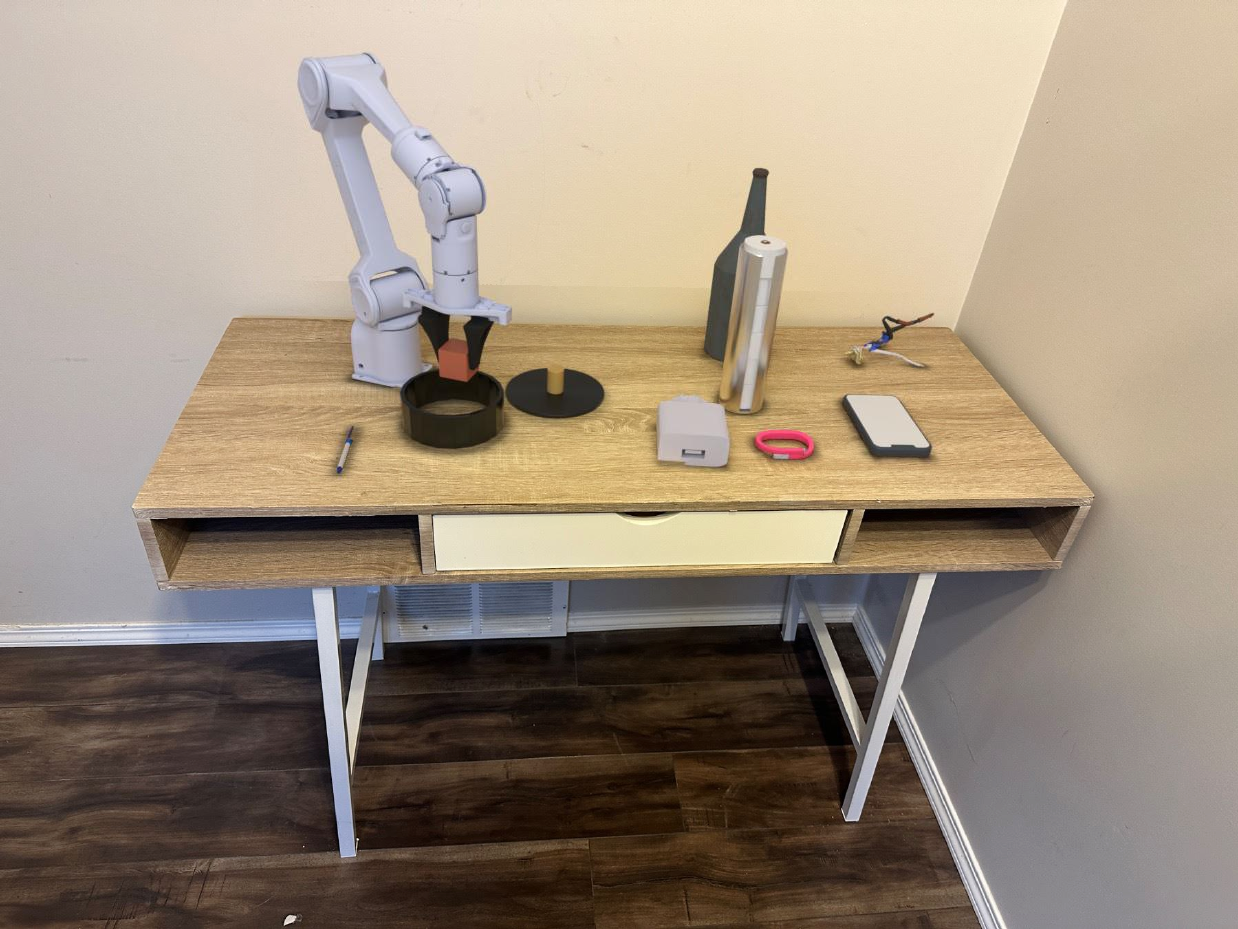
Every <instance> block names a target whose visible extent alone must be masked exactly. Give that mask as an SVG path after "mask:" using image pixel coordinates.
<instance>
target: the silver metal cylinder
mask: <svg viewBox="0 0 1238 929" xmlns="http://www.w3.org/2000/svg"><path fill="white" fill-rule="evenodd" d="M788 256H789V249H788V248H787V242H786V241H784V240H782V239H781V238H778V237H775V236H771V235H766V236H763V235H757V236H750V237H748V238H746V239H745V241H744V242H743V243H742V244H741V245H740V248H739V256H738V263H737V270H736V277H735V285H734V292H733V299H732V306H731V313H730V321H729V328H728V335H727V342H726V350H725V357H724V362H723V363H722V364H723V365H722V372H721V379H720V387H719V393H718V404H720V405H722V406H723V407H724V409H725V411H728V412H730V413H733V414H737V415H751V414H755V413H757V412H759V411H761V409H762V407H763V403H764V396H765V391H766V386H767V379H768V374H769V369H770V362H771V355H772V350H773V345H774V344H773V343H774V339H775V333H776V327H777V320H778V315H779V309H780V303H781V297H782V291H783V285H784V279H785V272H786V268H787V263H788V262H787V261H788Z"/></svg>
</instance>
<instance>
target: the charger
mask: <svg viewBox="0 0 1238 929" xmlns="http://www.w3.org/2000/svg"><path fill="white" fill-rule="evenodd" d="M726 415H727V414H726V409H724V407H723V406H722V405H720V404H719V403H716V402H708V400H706V399H705V398H702V397H701V396H699V395H696V393H692V394H691V395H688V394H687V395H686V394H684V393H683V392H682V393H680V394H679V395H677V396H675V397H672V398H670V399H669V400H663V401H661V402H659V403H658V405H657V412H656V422H655V426H656V427H655V428H656V429H655V430H656V445H657V446H656V450H657V451H656V452H657V453H656V454H657V460H658V461H667V462H680V463H681V462H684V464H683V465H684V466H694V467H695V466H697V467H714V468H717V467H718V468H719V467H722V466H723V467H724V466H726V465H727V464H728V460H729V453H730V446H731V438H730V433H729V427H728V421H727V416H726Z"/></svg>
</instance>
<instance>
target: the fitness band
mask: <svg viewBox="0 0 1238 929" xmlns="http://www.w3.org/2000/svg"><path fill="white" fill-rule="evenodd" d="M755 436H756V437H755V440H754V445H755V447H756V448H757V449H759V450H761V451H763V452H765V453H770V454H772V459H773V460H799V459H800V460H801V459H806V458H808V457H810V456H812V455H813V453H814V450H815V443H814V440H813V438H812V437H811V436H810V435H809V434H807V433H806V432H804V431H800V430H795V429H769V430H763V431H760V432H758V433H757V434H756V435H755ZM767 440H795V441H799V442H802V443H803V444H805V445H806V446H807V448H805V447H775V446H771V445H769V444H766V443H764V442H763V441H767Z"/></svg>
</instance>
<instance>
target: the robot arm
mask: <svg viewBox="0 0 1238 929" xmlns="http://www.w3.org/2000/svg"><path fill="white" fill-rule="evenodd" d="M297 71H298V72H297V88H298V93H299V96H300V99H301V103H302V105H303V108H304V112H305V114H306V118H307V119H308V121H309V122H308V123H309V124H310V128H311V129H312V130H314V131H316V132H318V133H320V135H321V138H322V141H323V145H324V146H325V151H326V153H327V156H328V160H329V162H330V166H331V169H332V172H333V175H334V178H335V182H336V184H337V188H338V190H339V194H340V197H341V199H342V203H343V206H344V209H345V212H346V216H347V218H348V222H349V225H350V227H351V229H352V234H353V236H354V239H355V243H356V246H357V249H358V252H359V256H360V258H359V259H358V261H357V262H356V264H355V265H354V266H353V268H352V269H351V271H350V272H349V274H348V276H347V279H348V283H349V288H350V293H351V294H350V298H351V305H352V308H353V311H354V313H355V315H356V316H357V317H356V318H355V319H354V321H353V322H352V326H351V329H350V345H351V354H352V363H353V371H354V373H353V374H351V378H352V379H353V380H358V381H362V382H367V383H371V384H375V385H379V386H384V387H385V386H386V387H391V388H395V387H399V388H402V386H403V385H404V384H405V383H406V382H407V381H408V380H409V379H410V378H412V377H414V376H416V375H418V374H420V373H423V372H426V371H430V370H432V368H433V367H434V365H433V364H430V363H427V362H422V348H421V334H420V333H421V332H420V327H421V328H422V329H423V330H424V333H425V334H426V336H427V338H428V339H429V341H430V343H431V345H432V348H433V351H434V354H435V357H436V360H437V363H438V364H439V354H438V350H439V349H440V348H441V347H442V346H443V345H444V344H445V343H446V342H447V341H448V340H449V339H450V319H451V316H464V317H468V318H470V319H469V320H467V322H466V323H464V325H463V326H462V330H463V332H464V335H465V340H466V341H467V346H468V362H469V368H470V370H475V369H476V368H477V367H478V366H479V367H480V365H481V360H482V355H483V351H484V347H485V344H486V341H487V339H488V335H489V334H490V332H491V329H492V327H493V326H494V323H498V325H499V326H505V327H507V325H509V324H510V323H511V322H512V320H513V307H512V306H511V305H506V304H502V303H501V302H497V301H494V300H492V299H489V298H486V297H484V296H482V295H480V285H479V284H480V283H479V248H478V244H479V242H478V216H477V215H480V214H482V213H483V212H484V210H485V208H486V206H487V199H488V198H487V197H488V196H487V190H486V185H485V183H484V180H483V178H482V176H481V175H480V174H479V171H477V169H476V168H474V166H471V165H464V164H463V163H462V162H456V161H455V160H454V159H453V158H452V157H451V156H450V154H449V153H448V151H446V150H445V148H444V147H443V146H442V145H441V143H439V141H438V140H437V139H436V138H435V137H434V135H433V134H432V133H431V132H430V130H429V129H428V128H426V127H424V126H421V125H419V126H418V125H413V124H412V122H411V121H410V118H408V117H407V115H406V113H405V112H404V111H403V109H402V107H401V106H400V105H399V104H398V102H397V100H396V99H395V97H394V95H393V94H392V93H391V92H390V90H389V88H388V86H389V85H388V84H389V83H388V76H387V72H386V69H385V67H384V66H382V64H381V62H380V61H379V59H378V58H377V56H375V55H374V54H373V53H372V52H367V51H364V52H362V53H358V54H347V55H346V54H345V55H344V54H343V55H332V56H320V57H312V56H306V57H304V58H302V60H301V62H300V64H299V68H298V70H297ZM369 124H371V125H372V126H373V127H374V128H375V129H376V130H377V131H378V132H379V133H380V135H382V136H383V137H384V138H385V139H386V140H387V141H388V143H390V144H391V147H390V156H391V159H392V161H393V162H394V164H395V165H396V166H397V167H398V169H399V170H400V171H401V172H402V173H403V174H404V176H405V177H406V178H407V179H408V180H409V182H410V183H411V184H412V185H413V187H414V188H415V189H416V190H417V191H418V192H417V199H418V203H419V206H420V209H421V212H422V214H423V217H424V226H425V229H426V232H427V233H428V234H429V235H430V250H431V266H432V267H431V268H432V284H433V285H432V286H433V289H431V288H430V287H429V284H428V281H427V279H426V277H425V276H424V275H423V273H422V271H421V270H420V267H419V265H418V262H417V259H416V258H414V257H413V256H411V255H409V254H408V253H405V252H404V251H402V250H401V249H399V248H398V247H397V244H396V242H395V239H394V235H393V232H392V229H391V225H390V222H389V219H388V217H387V213H386V211H385V210H386V209H385V206H384V203H383V200H382V197H381V193H380V191H379V188H378V184H377V181H376V178H375V174H374V171H373V168H372V164H371V162H370V158H369V156H368V153H367V149H366V146H365V142H364V140H363V136H362V134H363V130H364V127H366V126H367V125H369ZM388 272H394V273H392V274H387V275H383V276H380V277H376V278H373V277H374V276H377V275H380V274H384V273H388Z"/></svg>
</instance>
